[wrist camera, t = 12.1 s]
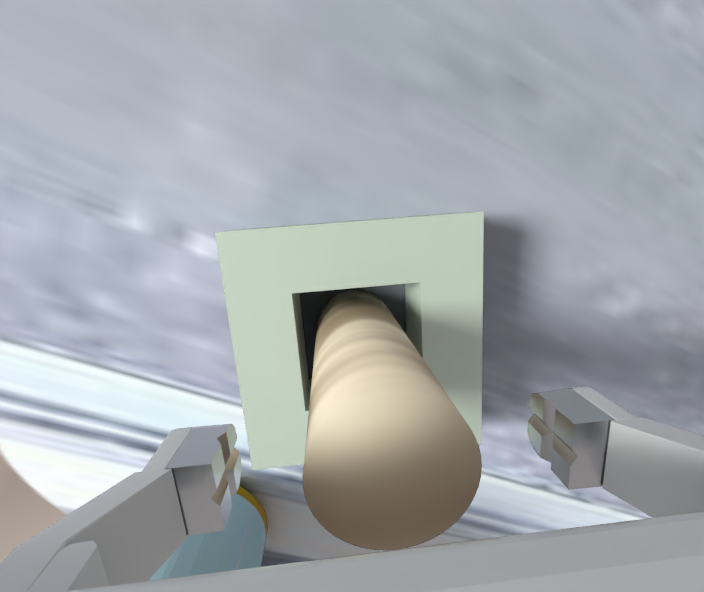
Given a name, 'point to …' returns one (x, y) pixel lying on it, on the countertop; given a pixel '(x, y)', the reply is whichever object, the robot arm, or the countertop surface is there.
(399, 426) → the peg
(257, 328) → the socket
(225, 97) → the countertop surface
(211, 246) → the countertop surface
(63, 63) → the countertop surface
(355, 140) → the countertop surface
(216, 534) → the bottle
